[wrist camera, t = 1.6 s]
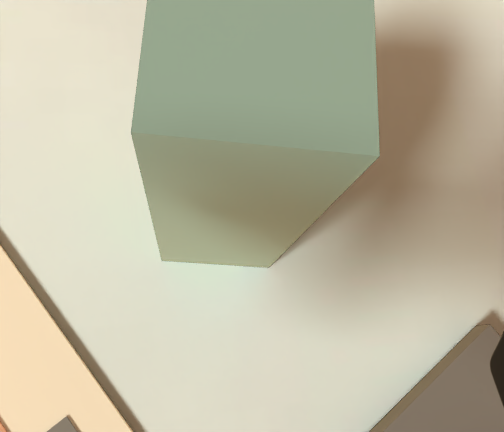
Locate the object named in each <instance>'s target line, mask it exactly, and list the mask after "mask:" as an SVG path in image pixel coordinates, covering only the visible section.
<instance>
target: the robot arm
mask: <svg viewBox="0 0 504 432" xmlns="http://www.w3.org/2000/svg"><path fill="white" fill-rule="evenodd" d="M490 370H491V374H492V377H493V380H494V382H495V385H496V388H497V391H498V394H499V396H500V399H501V402H502V405H503V408H504V332H503V334H502V336H501V338H500V340H499V342H498V344H497V346H496V348H495V350H494V352H493V354H492V356H491V359H490Z"/></svg>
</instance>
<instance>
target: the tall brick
mask: <svg viewBox="0 0 504 432" xmlns="http://www.w3.org/2000/svg"><path fill="white" fill-rule="evenodd" d="M131 135H132V139H133V143H134V147H135V151H136V155H137V160H138V164H139V168H140V172H141V176H142V180H143V185H144V189H145V193H146V197H147V201H148V205H149V210H150V214H151V218H152V222H153V226H154V231H155V235H156V239H157V243H158V247H159V251H160V256H161V260H162V261H173V262H189V263H204V264H219V265H235V266H250V267H265V268H269V267H270V266H271V265H272V264H273V263H274V262H275V261H276V260H277V259H278V258H279V257H280V256H281V255H282V254H283V253H284V252H285V251H286V250H287V249H288V248H289V247H290V246H291V245H292V244H293V243H294V242H295V241H296V240H297V239H298V238H299V237H300V236H301V235H302V234H303V233H304V232H305V231H306V230H307V229H308V228H309V227H310V226H311V225H312V224H313V223H314V222H315V221H316V220H317V219H318V218H319V217H320V216H321V215H322V214H323V213H324V212H325V211H326V210H327V209H328V208H329V207H330V206H331V205H332V204H333V203H334V202H335V201H336V200H337V199H338V198H339V197H340V196H341V195H342V194H343V193H344V192H345V191H346V190H347V189H348V188H349V187H350V186H351V185H352V184H353V183H354V182H355V181H356V180H357V179H358V178H359V177H360V176H361V175H362V174H363V173H364V172H365V170H366V169H367V168H368V167H369V166H370V165H371V164H372V163H373V162H374V161H375V160H376V159H377V158H378V157H379V156H380V149H379V122H378V95H377V67H376V40H375V13H374V0H147V6H146V14H145V22H144V30H143V38H142V47H141V55H140V63H139V71H138V79H137V87H136V95H135V104H134V112H133V120H132V128H131Z"/></svg>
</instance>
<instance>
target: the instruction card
mask: <svg viewBox="0 0 504 432" xmlns="http://www.w3.org/2000/svg"><path fill="white" fill-rule="evenodd" d="M0 432H133V431H132V429H131V428H130V426H129V425H128V424H127V422H126V421H125V419H124V418H123V417H122V415H121V414H120V412H119V411H118V410H117V408H116V407H115V405H114V404H113V402H112V401H111V400H110V398H109V397H108V395H107V394H106V393H105V391H104V390H103V388H102V387H101V386H100V384H99V383H98V381H97V380H96V379H95V377H94V376H93V374H92V373H91V371H90V370H89V369H88V367H87V366H86V364H85V363H84V362H83V360H82V359H81V357H80V356H79V355H78V353H77V352H76V350H75V349H74V348H73V346H72V345H71V343H70V342H69V340H68V339H67V338H66V336H65V335H64V333H63V332H62V331H61V329H60V328H59V326H58V325H57V324H56V322H55V321H54V319H53V318H52V317H51V315H50V314H49V312H48V311H47V309H46V308H45V307H44V305H43V304H42V302H41V301H40V300H39V298H38V297H37V295H36V294H35V293H34V291H33V290H32V288H31V287H30V286H29V284H28V283H27V281H26V280H25V278H24V277H23V276H22V274H21V273H20V271H19V270H18V269H17V267H16V266H15V264H14V263H13V262H12V260H11V259H10V257H9V256H8V255H7V253H6V252H5V250H4V249H3V247H2V246H1V245H0Z"/></svg>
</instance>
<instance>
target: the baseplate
mask: <svg viewBox="0 0 504 432" xmlns="http://www.w3.org/2000/svg"><path fill="white" fill-rule="evenodd" d="M500 338H501V337H500V336H499V334H498V333H497V332H496V331H495V330H494V329H493V327H492V326H491V325H490V324H488V325H478V326H475V327H474V328H473V329H472V330H471V331H470V332H469V333H468V334H467V335H466V336H465V337H464V338H463V339H462V340H461V341H460V342H459V343H458V344H457V345H456V346H455V347H454V348H453V349H452V350H451V351H450V352H449V353H448V354H447V355H446V356H445V357H444V358H443V359H442V360H441V361H440V362H439V363H438V364H437V365H436V366H435V367H434V368H433V369H432V370H431V371H430V372H429V373H428V374H427V375H426V376H425V377H424V378H423V379H422V380H421V381H420V382H419V383H418V384H417V385H416V386H415V387H414V388H413V389H412V390H411V391H410V392H409V393H408V394H407V395H406V396H405V397H404V398H403V399H402V400H401V401H400V402H399V403H398V404H397V405H396V406H395V407H394V408H393V409H392V410H391V411H390V412H389V413H388V414H387V415H386V416H385V417H384V418H383V419H382V420H381V421H380V422H379V423H378V424H377V425H376V426H375V427H374V428H373V429H372V430H371V431H370V432H504V408H503V405H502V402H501V399H500V396H499V394H498V391H497V388H496V385H495V382H494V380H493V377H492V374H491V370H490V359H491V356H492V354H493V352H494V350H495V348H496V346H497V344H498V342H499V340H500Z"/></svg>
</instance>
